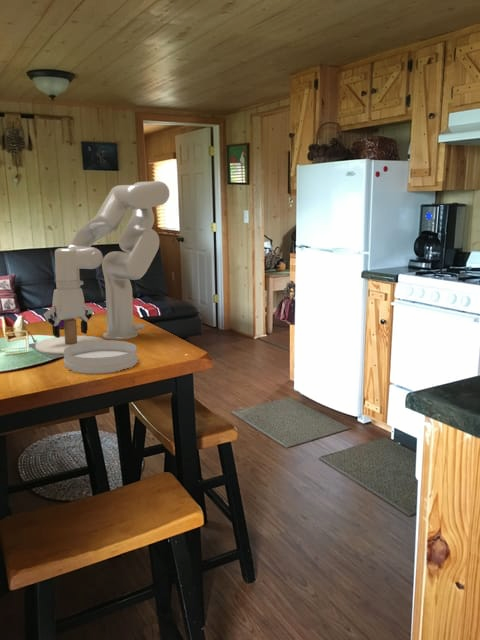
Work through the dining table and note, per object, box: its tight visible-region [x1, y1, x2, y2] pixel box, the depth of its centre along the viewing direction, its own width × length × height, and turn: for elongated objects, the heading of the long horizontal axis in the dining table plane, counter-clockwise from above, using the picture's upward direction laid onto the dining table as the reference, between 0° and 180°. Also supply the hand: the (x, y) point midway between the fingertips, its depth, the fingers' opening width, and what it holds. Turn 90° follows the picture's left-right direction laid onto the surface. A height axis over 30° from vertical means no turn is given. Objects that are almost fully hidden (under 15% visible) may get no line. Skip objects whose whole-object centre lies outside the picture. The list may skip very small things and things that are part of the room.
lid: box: [35, 318, 105, 355], centre depth 186 cm, size 23×23×9 cm
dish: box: [63, 339, 138, 375], centre depth 168 cm, size 22×22×5 cm
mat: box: [28, 335, 110, 360], centre depth 187 cm, size 23×23×1 cm
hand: (70, 335), depth 186 cm, fingers open, 9 cm apart
